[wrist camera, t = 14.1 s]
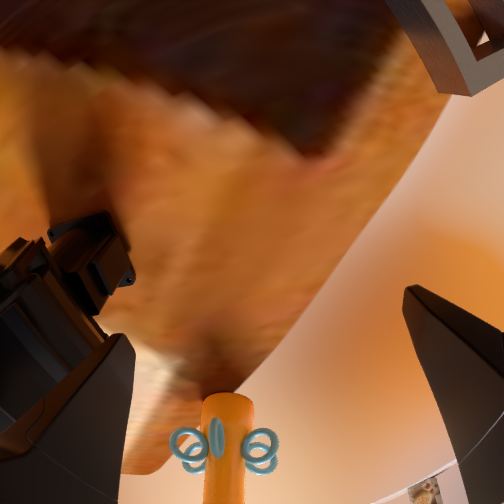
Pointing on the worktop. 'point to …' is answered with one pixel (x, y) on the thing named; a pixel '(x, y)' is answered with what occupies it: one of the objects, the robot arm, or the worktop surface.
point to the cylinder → (226, 447)
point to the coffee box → (425, 492)
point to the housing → (454, 43)
